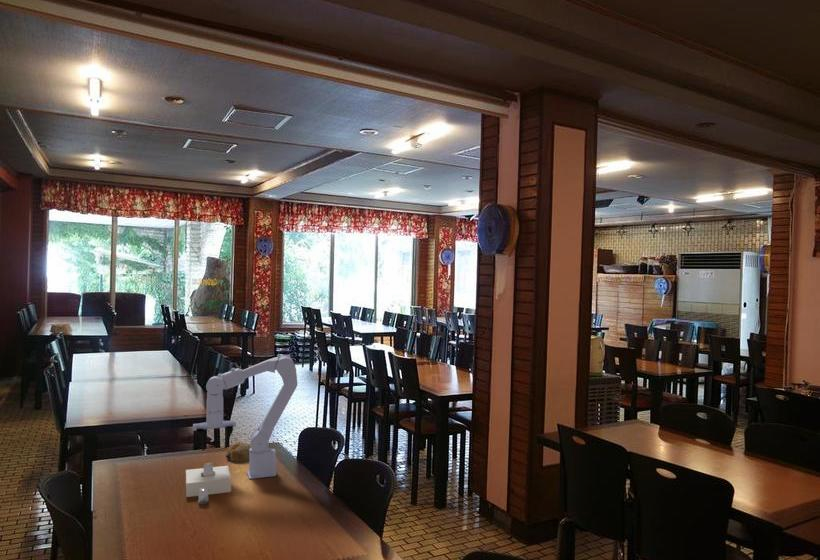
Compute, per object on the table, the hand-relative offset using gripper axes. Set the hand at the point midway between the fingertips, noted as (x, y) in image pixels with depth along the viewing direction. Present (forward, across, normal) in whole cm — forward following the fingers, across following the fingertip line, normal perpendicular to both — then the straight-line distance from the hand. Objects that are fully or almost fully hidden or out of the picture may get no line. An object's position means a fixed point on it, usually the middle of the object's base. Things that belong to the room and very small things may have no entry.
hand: (214, 448), depth 209 cm
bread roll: (+11, -11, -20) cm, 25 cm away
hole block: (+10, +3, +9) cm, 14 cm away
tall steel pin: (+10, +3, +9) cm, 14 cm away
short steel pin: (+10, +5, +22) cm, 25 cm away
